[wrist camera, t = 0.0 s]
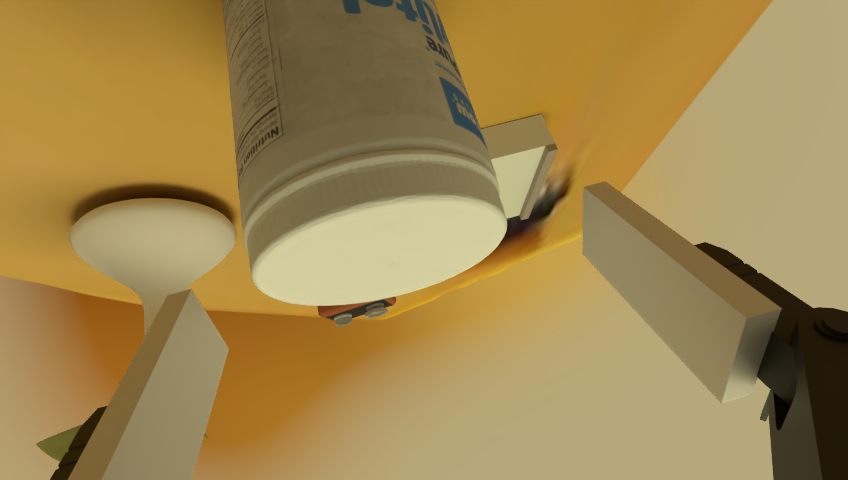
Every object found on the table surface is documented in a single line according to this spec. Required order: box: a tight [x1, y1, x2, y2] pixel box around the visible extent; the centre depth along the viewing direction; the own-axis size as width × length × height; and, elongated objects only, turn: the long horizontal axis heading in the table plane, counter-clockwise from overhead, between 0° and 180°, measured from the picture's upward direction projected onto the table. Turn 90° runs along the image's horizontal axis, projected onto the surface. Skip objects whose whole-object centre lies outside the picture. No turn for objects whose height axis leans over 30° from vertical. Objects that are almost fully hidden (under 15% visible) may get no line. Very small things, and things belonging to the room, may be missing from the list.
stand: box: [480, 114, 558, 220], centre depth 40 cm, size 13×13×4 cm
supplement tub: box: [223, 0, 507, 306], centre depth 18 cm, size 10×10×15 cm
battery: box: [318, 297, 396, 326], centre depth 43 cm, size 4×7×10 cm, turn 104°
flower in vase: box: [37, 198, 237, 462], centre depth 30 cm, size 13×11×25 cm
